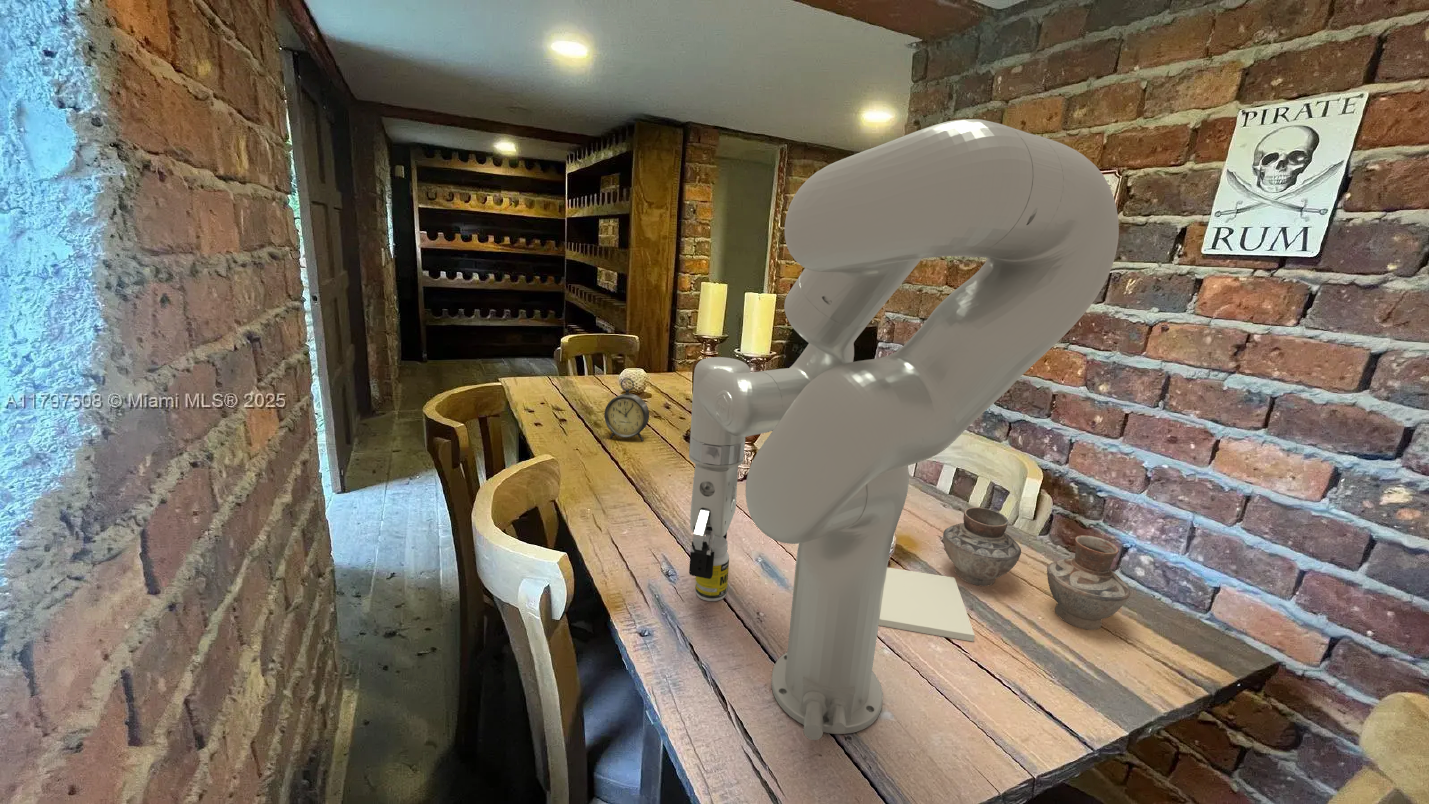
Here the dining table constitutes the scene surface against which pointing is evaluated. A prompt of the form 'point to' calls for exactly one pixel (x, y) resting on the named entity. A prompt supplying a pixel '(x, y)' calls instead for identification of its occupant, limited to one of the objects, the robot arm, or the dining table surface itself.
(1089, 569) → the pottery
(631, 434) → the alarm clock
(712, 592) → the supplement bottle
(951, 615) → the cream board
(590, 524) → the dining table surface
